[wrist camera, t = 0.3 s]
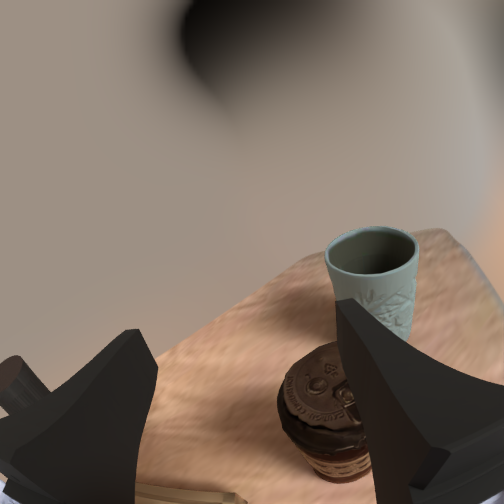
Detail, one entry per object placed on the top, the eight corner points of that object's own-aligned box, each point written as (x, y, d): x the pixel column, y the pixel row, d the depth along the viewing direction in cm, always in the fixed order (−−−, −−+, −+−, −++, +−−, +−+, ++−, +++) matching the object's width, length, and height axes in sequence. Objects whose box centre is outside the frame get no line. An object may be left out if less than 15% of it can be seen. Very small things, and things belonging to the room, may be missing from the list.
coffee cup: (386, 497, 17) (409, 442, 11) (291, 494, 20) (252, 438, 14) (392, 416, 24) (403, 324, 18) (310, 418, 27) (286, 330, 21)
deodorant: (109, 439, 29) (30, 356, 22) (94, 476, 24) (2, 399, 17) (79, 431, 30) (6, 354, 24) (63, 465, 25) (-20, 390, 18)
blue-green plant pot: (418, 357, 29) (428, 269, 24) (333, 363, 33) (319, 280, 27) (409, 301, 37) (409, 220, 32) (338, 307, 41) (326, 230, 36)
